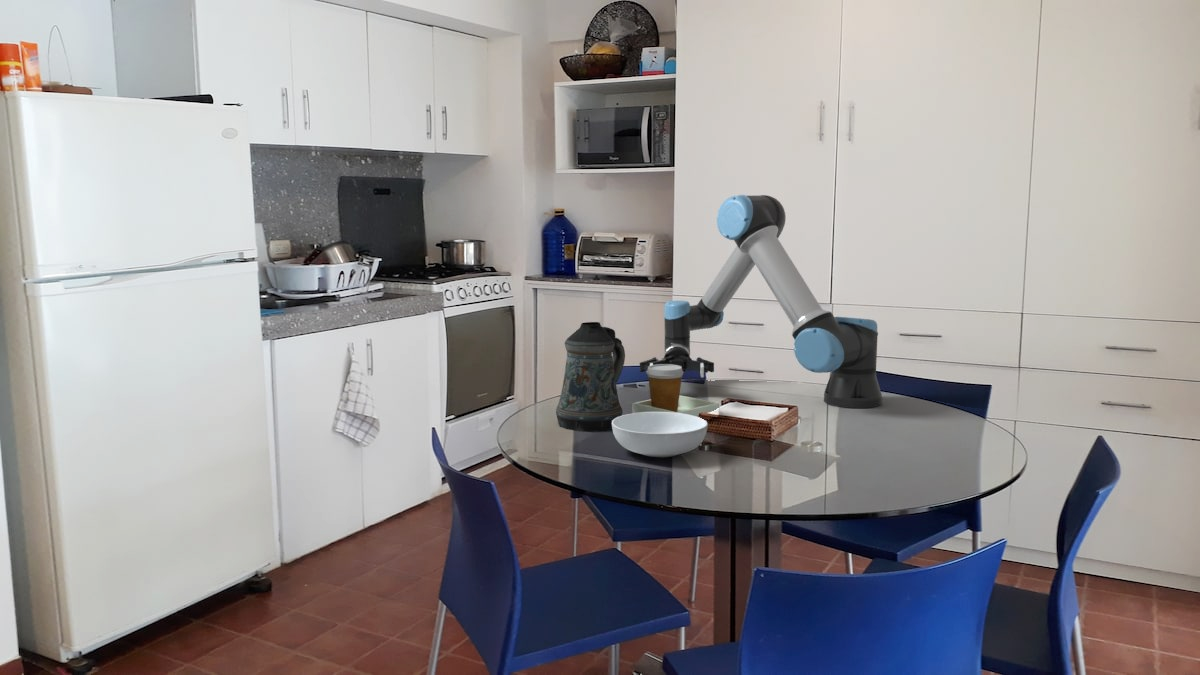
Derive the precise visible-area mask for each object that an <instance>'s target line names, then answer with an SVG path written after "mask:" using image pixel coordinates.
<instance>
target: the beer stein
mask: <svg viewBox="0 0 1200 675" xmlns="http://www.w3.org/2000/svg"><path fill="white" fill-rule="evenodd" d="M564 347H565V350H566V359H565V360H566V361H565V368H564V375H563V382H562V387H561V392H560V395H559V396H560V397H559V400H558V404H557V406H556V409H555V415H556V418H557V424H558V426H559V427H561V428H563V429H566V430H570V431H576V432H599V431H606V430H611V429H612V421H613V420H614V419H615V418H617V417H619V416H622V415H623V408H622V406H621V403H620V400H619V397H618V389H617V382H618V380H619V378H620V377H621V374H622V371H623V369H624V365H625V360H626V353H625V347H624V345H623V342H622V340H621V339H620V338H618V337H616V331H615V330H614V329H613V328H610V327H607V326H602V324H601V322H598V321H588V322H587V321H586V322H581V323H580V327H579V328H578V329H576V330H575V331H574V332H573V333H572V334H571V335H569V336H568V337H566V339H565V341H564Z"/></svg>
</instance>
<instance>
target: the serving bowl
mask: <svg viewBox="0 0 1200 675" xmlns="http://www.w3.org/2000/svg"><path fill="white" fill-rule="evenodd" d="M708 427H709V423H708V421H707V420H704V419H702V418H700V417H697V416H693V415H688V414H683V413H674V412H639V413H627V414H622V416H619V417H617V418H615V419H614V420H613V421H612V428H611V429H612V433H613V436H614V437H615V440H616V441H617V443H618V444H620V446H622V447H623V448H624V449H625V450H628V451H630V452H632V453H636V454H640V455H643V456H645V457H652V458H669V457H675V456H677V455H681V454H685V453H688V452H691V451H693V450H695V449H696V448H697V447H699V446H700V445H701V443H702V442H703V441H704V440H705V437H706V436H707V431H708Z"/></svg>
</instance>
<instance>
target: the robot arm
mask: <svg viewBox="0 0 1200 675" xmlns="http://www.w3.org/2000/svg"><path fill="white" fill-rule="evenodd" d="M717 211H718V212H717V216H716V225H717V228H718V232H719V233H720V235H722V236H723V237H724V238H725V239H726V240H727V239H728V240H730V241H734V242H735V244H736V246H735V248H734V249H733V251H732V252H731V254H730V255H729V257H728V258H727V260H726V261H725V263H724V264H723V266H722V267H721V269H720V270H719V272H718V273H717V275H716V276H715V277H714V279H713V281H712V283H711V284H710V285H709V287H708V288H707V290H706V291H705V293H704V294H703V296H702V297H701V298H700V300H699V301H698V303H697V304H695V305H694V304H693V305H690V302H689V301H687V300H669V301H667V302H665V304H664V314H663V317H664V318H663V319H664V352H663V354H664V355H663V358H661V359H660V360H659V358H657V357H655V356H653V357H651V359H650V358H649V359H647V360H643V361H641V362H639V372H640V373H643V372H645V375H646V376H647V373H646V371H647V370H648V367H649V366H651V365H658V364H672V365H678V366H681V367H682V371H683V372H686V371H687V372H688V371H696V372H700V373H699V374H700V377H701V378H705V374H707V373H708V372H710V373H714V372H715V362H712V361H709V360H707V359H703V358H702V357H701V356H699V357H697V358H695V360H693V359H692V358H691V331H697V330H698V331H700V330H705V329H712V328H715V327H718V326H719V325H721V323H722V322H723V320H724V310H725V308H726V307H727V305H728V304H729V303H730V301H731V299H732V298H733V297H734V296H735V295H736V293H737V291H738V290H739V288H740V287H741V285H742V284H743V282H744V281H745V280H746V278H747V276H749V275H750V272H752V270H753V269H754V267H755V266H756V267H757V269H758V271H759V273H760V274H761V276H762V278H763V279H764V281H765V282H766V284H767V285H768V287H769V289H770V291H771V292H772V294H773V296H774V298H776V300H777V302H778V303H779V306H780V307H781V308H782V310H783V312H784V313H785V314H786V316H787V318H788V319H789V321H790V323H791V325H792V327H793V328H792V332H791V336H792V338H793V339H794V343H793V345H794V348H793V353H794V356H795V358H796V360H797V361H798V363H799V365H801V366H802V367H803V368H804V369H806V370H807V371H810V372H813V373H815V374H817V373H818V374H822V373H823V374H824V373H830V375H829V379H828V381H827V384H826V387H825V389H824V392H823V401H824V402H825V403H826V404H828V405H831V406H834V407H835V406H836V407H842V408H849V409H850V408H853V409H856V408H857V409H866V408H875V407H878V406H881V405H882V404H883V394H882V391H881V387H880V384H879V381H878V377H877V360H878V359H877V358H878V357H877V356H878V354H877V353H878V336H879V332H878V323H877V321H875V320H874V319H870V318H869V319H868V318H860V317H859V318H856V317H848V316H843V317H842V316H834V314H833V313H832V312H831V311H830V310H826V309H823V308H822V306H821V305H820V303H819V302H818V300H817V299H816V297H815V296H814V294H813V293H812V291H811V289H810V288H809V286H808V284H807V283H806V281H805V279H804V278H803V276H802V274H801V273H800V271H799V270H798V268H797V267H796V265H795V264H794V262H793V261H792V258H791V257H790V256H789V254H788V253H787V251H786V250H785V248H784V246H783V245H782V243H781V241H780V240H779V238H780V237H781V234H782V232H783V230H784V229H785V224H786V212H785V208H784V205H782V203H781V202H780V201H779V200H778V199H777V198H776V197H773V196H771V195H765V194H761V195H745V194H738V195H734V196H733V195H732V196H730V197H728V198H727V199H725V200H723V202H722V203H721V204H720V206H719V209H718V210H717Z"/></svg>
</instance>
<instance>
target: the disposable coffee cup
mask: <svg viewBox="0 0 1200 675" xmlns="http://www.w3.org/2000/svg"><path fill="white" fill-rule="evenodd" d="M646 373H647V375H646V376H647V379H648V386H649V387H648V388H649V395H650V399H651V404H652V407H656V408H660V409H665V410H669V411H674V412H677V410H678V402H679V395H680V393H681V386H682V378H683V374H684V372H683V371H682V367H681V366H678V365H672V364H658V365H651V366H649V367H648V370H647V371H645V374H646Z"/></svg>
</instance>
